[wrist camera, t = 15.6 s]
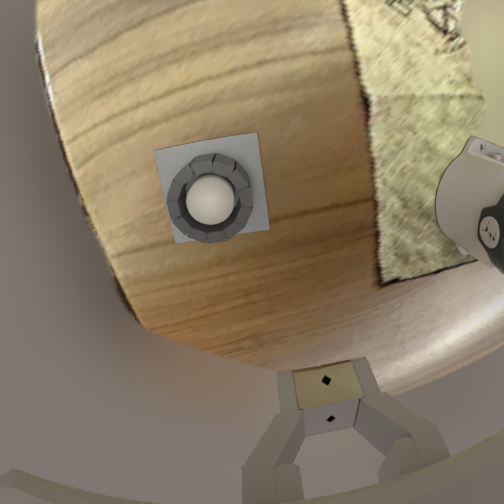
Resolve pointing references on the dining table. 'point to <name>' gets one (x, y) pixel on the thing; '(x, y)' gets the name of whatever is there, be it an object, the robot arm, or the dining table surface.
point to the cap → (211, 198)
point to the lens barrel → (222, 163)
